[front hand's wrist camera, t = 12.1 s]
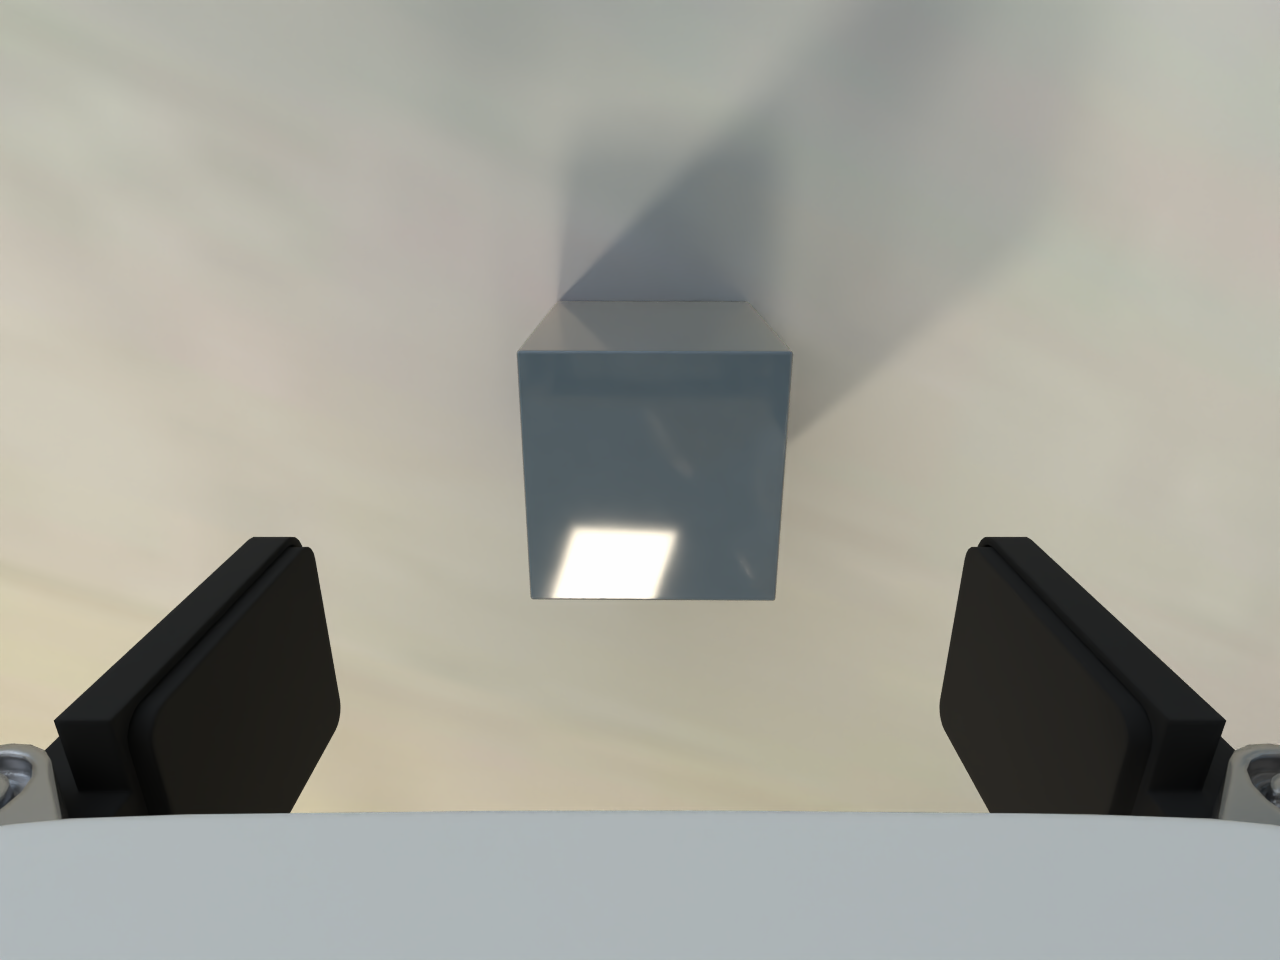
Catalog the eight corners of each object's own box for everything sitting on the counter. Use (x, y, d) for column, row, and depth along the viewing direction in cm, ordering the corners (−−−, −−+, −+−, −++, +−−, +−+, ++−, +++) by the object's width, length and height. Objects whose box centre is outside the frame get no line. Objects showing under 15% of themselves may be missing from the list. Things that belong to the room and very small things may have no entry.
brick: (748, 301, 23) (793, 351, 16) (739, 484, 25) (775, 602, 18) (556, 300, 23) (516, 350, 16) (563, 483, 26) (530, 599, 18)
